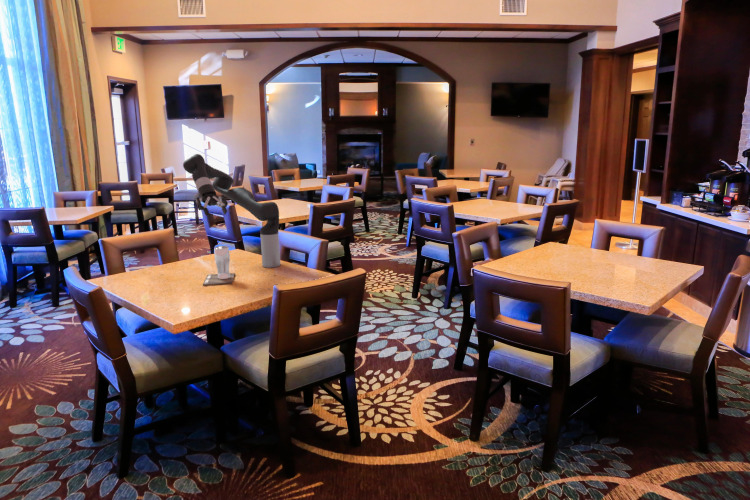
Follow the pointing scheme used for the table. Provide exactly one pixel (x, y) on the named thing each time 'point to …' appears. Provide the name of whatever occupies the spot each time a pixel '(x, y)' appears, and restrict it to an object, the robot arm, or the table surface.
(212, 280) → the board
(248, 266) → the table surface
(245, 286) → the table surface
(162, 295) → the table surface
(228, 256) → the beer glass
